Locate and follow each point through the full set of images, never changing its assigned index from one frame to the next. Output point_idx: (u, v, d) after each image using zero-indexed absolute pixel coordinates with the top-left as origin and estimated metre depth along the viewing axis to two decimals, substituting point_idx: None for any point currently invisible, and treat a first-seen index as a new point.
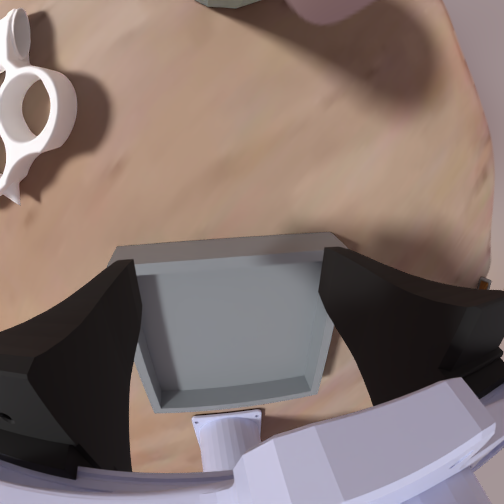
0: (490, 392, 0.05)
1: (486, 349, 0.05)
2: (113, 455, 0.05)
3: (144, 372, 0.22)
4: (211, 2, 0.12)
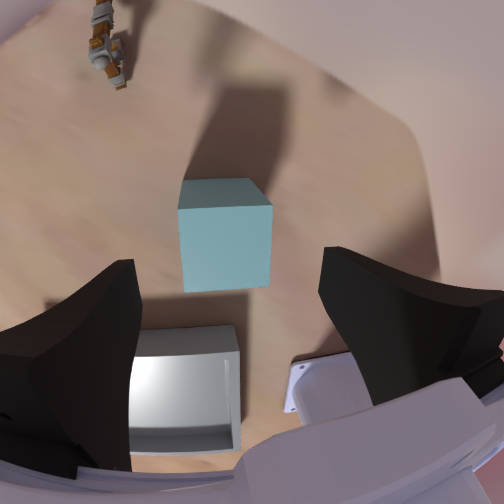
0: (490, 392, 0.05)
1: (486, 349, 0.05)
2: (113, 455, 0.05)
3: (183, 453, 0.25)
4: None
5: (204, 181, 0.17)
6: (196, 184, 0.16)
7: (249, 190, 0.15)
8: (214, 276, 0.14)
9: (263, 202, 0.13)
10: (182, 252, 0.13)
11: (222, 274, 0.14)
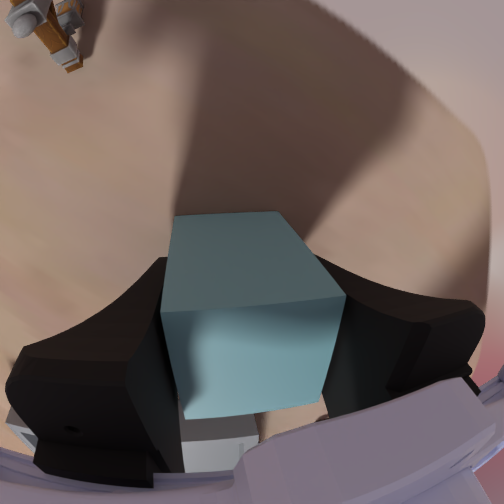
0: None
1: (449, 367, 0.05)
2: (175, 457, 0.05)
3: None
4: None
5: (209, 220, 0.11)
6: (196, 227, 0.10)
7: (289, 246, 0.09)
8: (233, 401, 0.07)
9: (326, 286, 0.07)
10: (176, 375, 0.07)
11: (247, 398, 0.07)
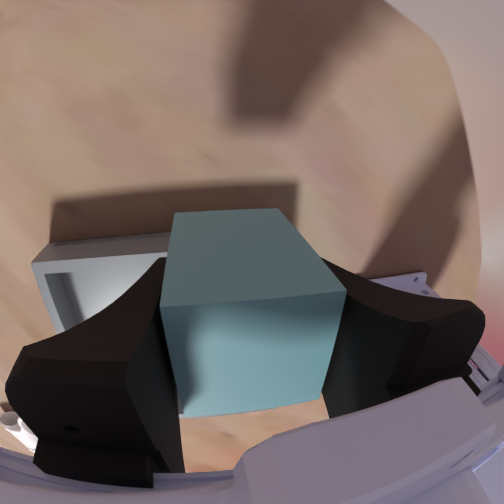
0: None
1: (449, 367, 0.05)
2: (175, 457, 0.05)
3: None
4: None
5: (209, 216, 0.11)
6: (196, 224, 0.10)
7: (289, 242, 0.09)
8: (233, 398, 0.07)
9: (326, 281, 0.07)
10: (176, 371, 0.07)
11: (247, 395, 0.07)
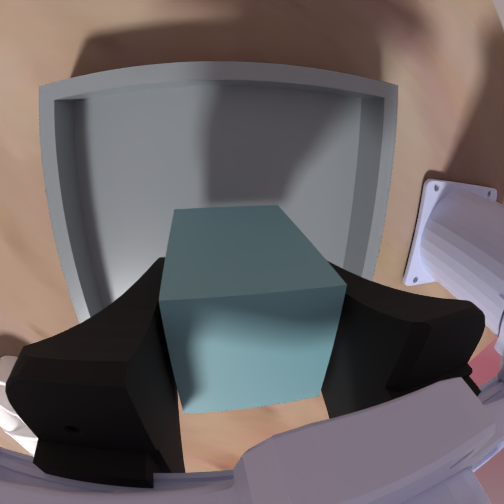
0: None
1: (449, 367, 0.05)
2: (175, 457, 0.05)
3: None
4: None
5: (209, 213, 0.11)
6: (196, 220, 0.10)
7: (289, 238, 0.09)
8: (233, 394, 0.07)
9: (326, 275, 0.07)
10: (175, 367, 0.06)
11: (246, 391, 0.07)
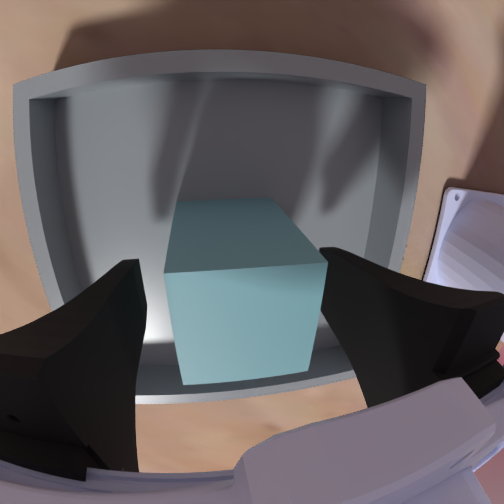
0: (486, 395, 0.05)
1: (482, 351, 0.05)
2: (121, 456, 0.05)
3: (268, 389, 0.15)
4: None
5: (208, 204, 0.12)
6: (196, 210, 0.11)
7: (279, 225, 0.10)
8: (228, 365, 0.08)
9: (310, 255, 0.08)
10: (176, 337, 0.07)
11: (240, 362, 0.08)
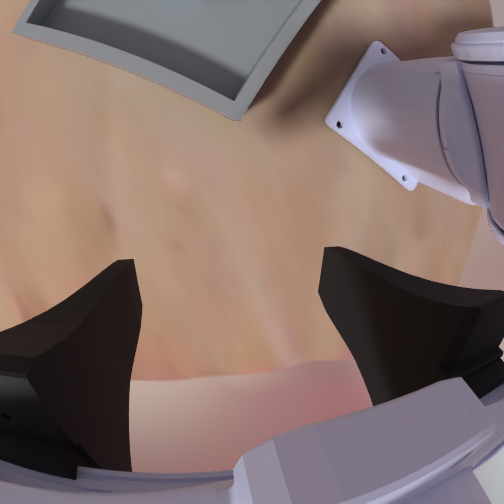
0: (490, 392, 0.05)
1: (486, 349, 0.05)
2: (113, 455, 0.05)
3: (142, 63, 0.12)
4: None
5: None
6: None
7: None
8: None
9: None
10: None
11: None
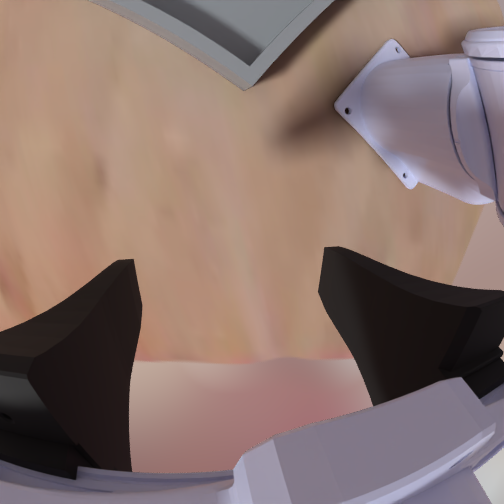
0: (490, 392, 0.05)
1: (486, 349, 0.05)
2: (113, 455, 0.05)
3: (165, 18, 0.11)
4: None
5: None
6: None
7: None
8: None
9: None
10: None
11: None
